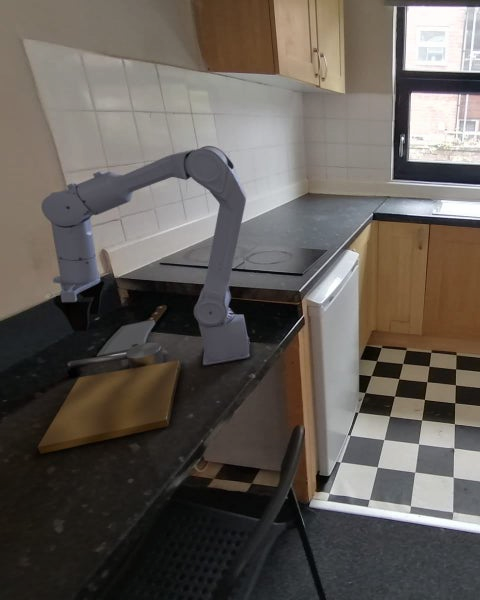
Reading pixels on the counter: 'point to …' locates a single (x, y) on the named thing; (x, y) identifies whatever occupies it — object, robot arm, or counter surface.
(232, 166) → the robot arm
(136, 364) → the grey disc-end rod
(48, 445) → the chopping board
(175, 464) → the counter surface
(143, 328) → the kitchen cleaver
